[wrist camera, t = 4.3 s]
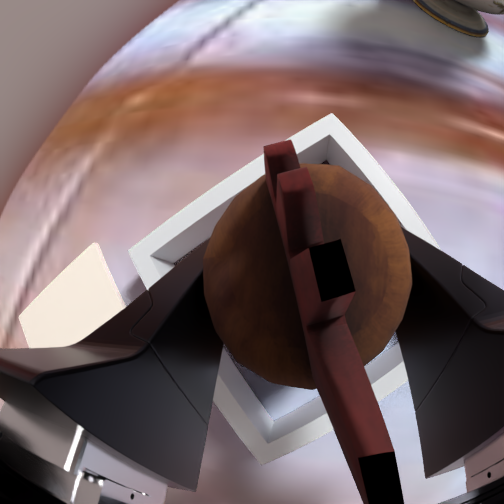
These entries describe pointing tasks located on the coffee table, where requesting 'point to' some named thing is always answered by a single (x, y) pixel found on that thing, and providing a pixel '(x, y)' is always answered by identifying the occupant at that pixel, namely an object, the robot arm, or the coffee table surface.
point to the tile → (73, 303)
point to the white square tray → (229, 378)
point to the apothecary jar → (462, 13)
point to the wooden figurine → (314, 296)
